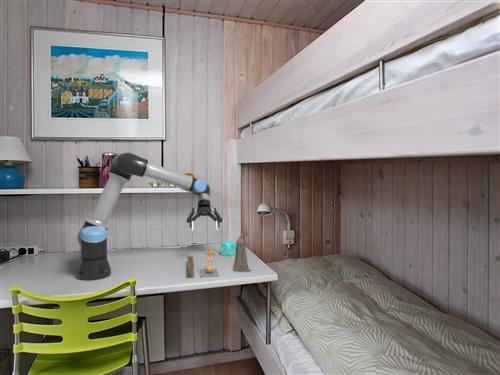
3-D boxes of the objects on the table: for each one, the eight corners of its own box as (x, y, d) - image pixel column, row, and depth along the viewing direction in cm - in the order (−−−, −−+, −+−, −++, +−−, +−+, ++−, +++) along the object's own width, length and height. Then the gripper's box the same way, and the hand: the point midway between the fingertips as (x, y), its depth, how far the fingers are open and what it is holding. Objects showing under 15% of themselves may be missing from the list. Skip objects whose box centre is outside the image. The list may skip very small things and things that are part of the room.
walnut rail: (187, 278, 158) (187, 270, 158) (187, 262, 185) (187, 256, 185) (194, 277, 158) (194, 270, 158) (193, 262, 186) (193, 256, 186)
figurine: (201, 274, 162) (200, 250, 162) (201, 270, 168) (201, 247, 168) (217, 274, 163) (217, 250, 163) (218, 270, 169) (218, 247, 169)
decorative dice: (237, 254, 204) (237, 241, 204) (228, 257, 198) (228, 243, 198) (228, 252, 209) (228, 240, 209) (219, 254, 203) (219, 242, 203)
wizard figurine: (251, 267, 176) (251, 221, 175) (252, 272, 168) (252, 223, 167) (232, 267, 176) (232, 221, 175) (232, 272, 168) (232, 223, 166)
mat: (200, 277, 159) (200, 276, 159) (199, 270, 171) (199, 269, 171) (219, 276, 161) (219, 275, 161) (216, 269, 172) (216, 268, 172)
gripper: (224, 206, 203) (226, 235, 189) (183, 206, 199) (182, 236, 184) (225, 198, 198) (227, 227, 183) (182, 198, 193) (182, 228, 179)
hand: (204, 231), depth 184 cm, fingers open, 13 cm apart
